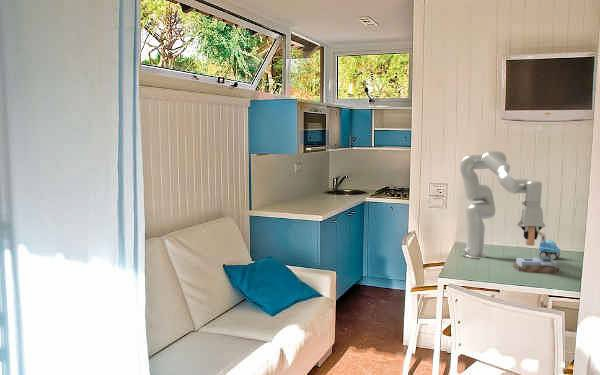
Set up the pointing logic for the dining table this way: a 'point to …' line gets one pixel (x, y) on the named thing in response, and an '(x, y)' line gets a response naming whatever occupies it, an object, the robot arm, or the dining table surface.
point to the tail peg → (530, 235)
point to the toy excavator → (548, 247)
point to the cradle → (537, 269)
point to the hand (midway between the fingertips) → (530, 238)
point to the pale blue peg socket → (536, 262)
